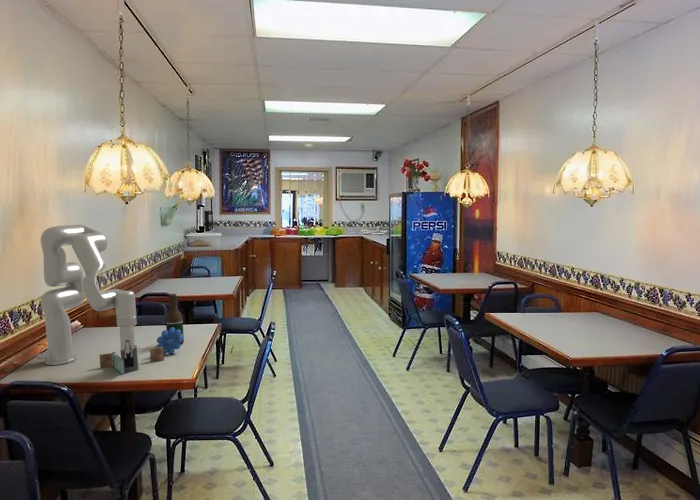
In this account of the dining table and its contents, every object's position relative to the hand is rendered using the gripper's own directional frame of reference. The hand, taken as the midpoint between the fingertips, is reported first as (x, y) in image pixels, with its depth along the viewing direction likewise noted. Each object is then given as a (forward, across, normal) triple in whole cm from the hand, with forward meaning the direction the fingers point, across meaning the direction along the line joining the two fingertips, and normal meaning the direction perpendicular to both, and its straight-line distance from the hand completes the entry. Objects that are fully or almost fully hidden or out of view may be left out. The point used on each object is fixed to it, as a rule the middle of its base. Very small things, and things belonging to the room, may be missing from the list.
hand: (129, 364), depth 222 cm
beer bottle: (+2, -32, +20) cm, 37 cm away
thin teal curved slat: (+2, 0, -4) cm, 5 cm away
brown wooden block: (+2, -7, +1) cm, 8 cm away
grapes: (+2, -16, +16) cm, 23 cm away
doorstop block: (+2, 0, 0) cm, 2 cm away
